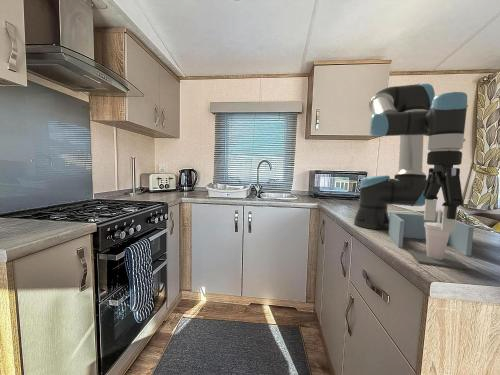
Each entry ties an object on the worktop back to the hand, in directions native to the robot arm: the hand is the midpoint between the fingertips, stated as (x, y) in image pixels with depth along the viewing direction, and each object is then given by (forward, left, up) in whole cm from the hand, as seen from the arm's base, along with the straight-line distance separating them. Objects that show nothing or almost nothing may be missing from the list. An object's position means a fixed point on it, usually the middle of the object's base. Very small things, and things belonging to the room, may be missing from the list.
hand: (437, 225), depth 67 cm
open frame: (-16, +2, -10) cm, 19 cm away
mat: (0, 0, -10) cm, 10 cm away
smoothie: (0, 0, -10) cm, 10 cm away
